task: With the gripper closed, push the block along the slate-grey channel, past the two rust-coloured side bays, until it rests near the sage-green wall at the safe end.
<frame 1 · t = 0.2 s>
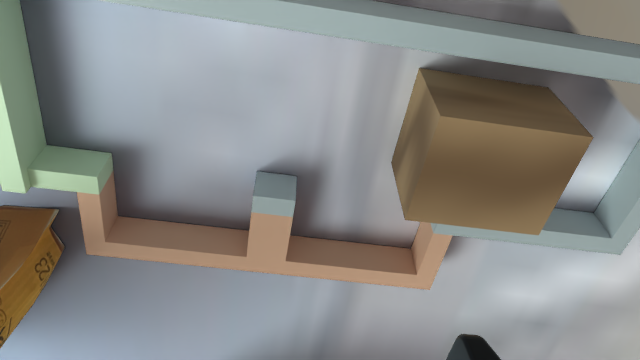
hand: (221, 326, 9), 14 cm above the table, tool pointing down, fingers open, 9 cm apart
block: (465, 125, 23), resting in trap box
trap box: (351, 111, 23), on the table
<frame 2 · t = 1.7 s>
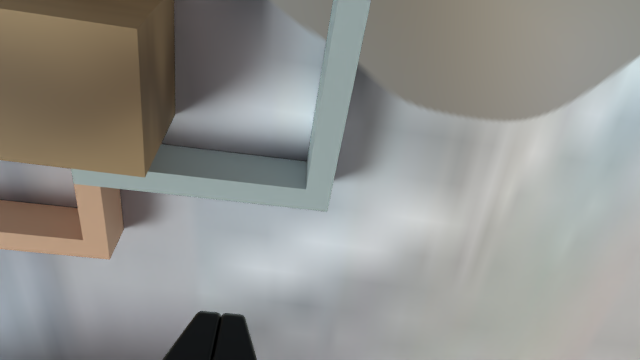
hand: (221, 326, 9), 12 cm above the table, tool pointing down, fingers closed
block: (92, 41, 18), resting in trap box
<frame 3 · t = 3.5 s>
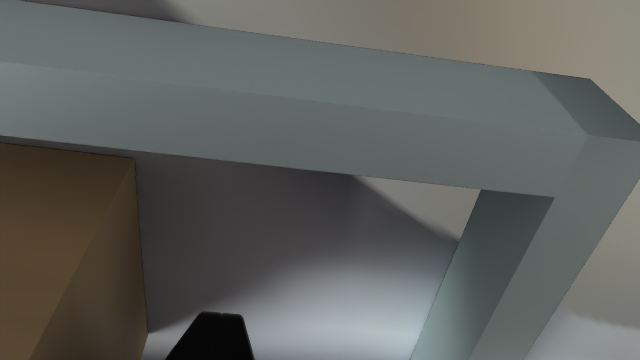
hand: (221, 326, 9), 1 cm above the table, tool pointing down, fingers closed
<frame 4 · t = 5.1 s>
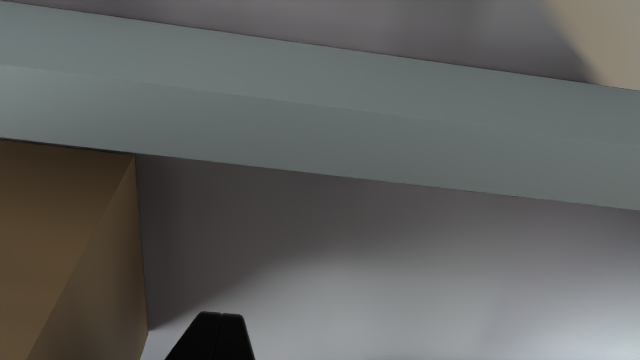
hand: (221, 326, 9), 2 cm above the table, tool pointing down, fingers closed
trap box: (87, 253, 10), on the table
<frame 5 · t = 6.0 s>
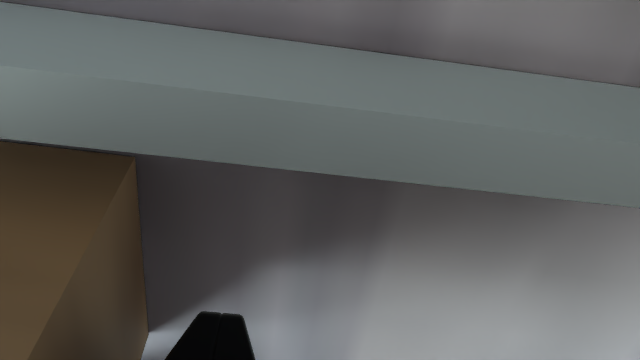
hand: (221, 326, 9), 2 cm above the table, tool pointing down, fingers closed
trap box: (288, 272, 10), on the table
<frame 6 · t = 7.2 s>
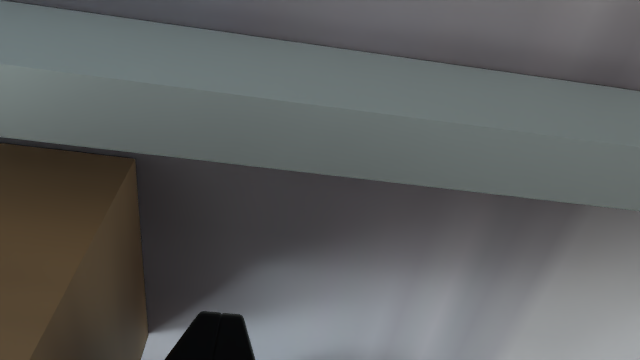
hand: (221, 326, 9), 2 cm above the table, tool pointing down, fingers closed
trap box: (457, 289, 11), on the table
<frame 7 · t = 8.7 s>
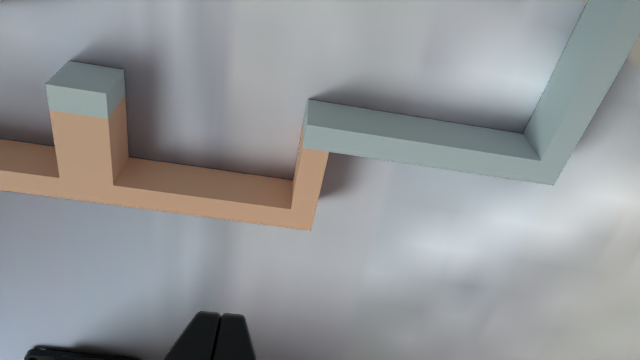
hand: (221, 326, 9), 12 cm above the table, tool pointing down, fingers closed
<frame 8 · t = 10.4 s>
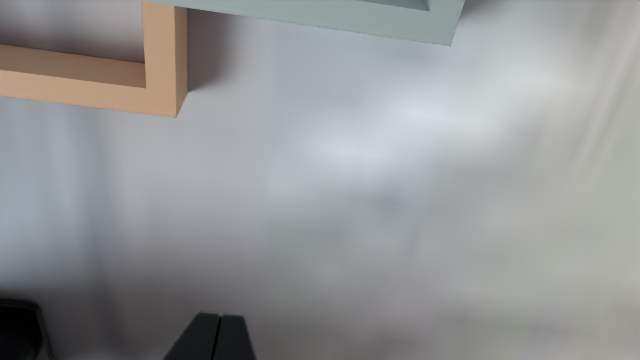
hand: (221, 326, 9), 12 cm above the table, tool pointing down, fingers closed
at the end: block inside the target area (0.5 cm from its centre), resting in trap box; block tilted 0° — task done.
